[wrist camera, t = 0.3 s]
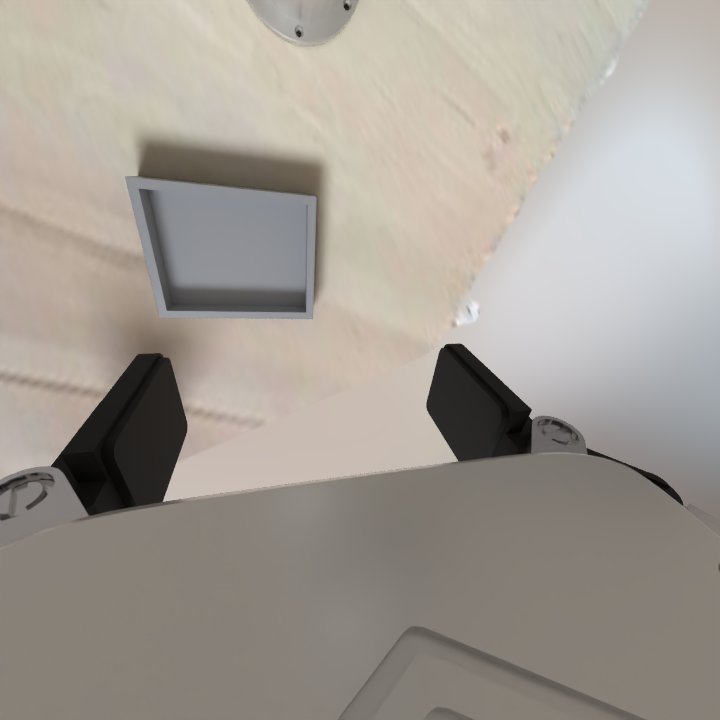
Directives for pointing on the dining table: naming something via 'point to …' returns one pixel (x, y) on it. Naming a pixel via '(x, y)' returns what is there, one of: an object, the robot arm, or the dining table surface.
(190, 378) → the dining table surface
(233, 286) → the tray
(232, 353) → the dining table surface
